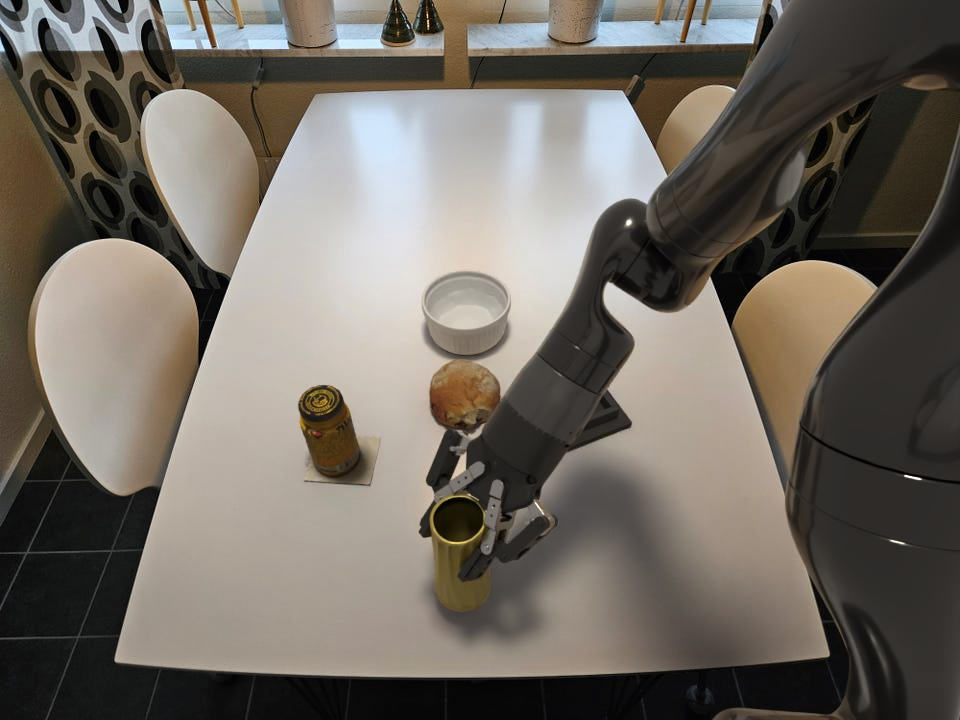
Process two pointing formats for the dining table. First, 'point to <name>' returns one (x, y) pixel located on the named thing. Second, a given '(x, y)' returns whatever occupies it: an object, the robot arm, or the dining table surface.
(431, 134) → the dining table surface
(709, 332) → the dining table surface
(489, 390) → the bread roll
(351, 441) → the condiment
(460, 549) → the vase
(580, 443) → the base pad
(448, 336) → the ramekin
